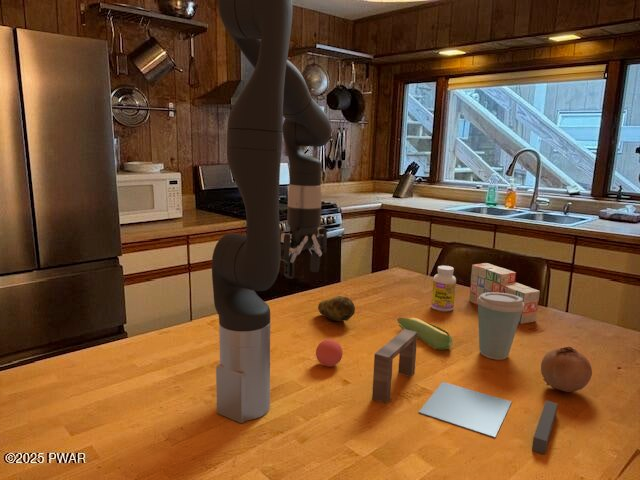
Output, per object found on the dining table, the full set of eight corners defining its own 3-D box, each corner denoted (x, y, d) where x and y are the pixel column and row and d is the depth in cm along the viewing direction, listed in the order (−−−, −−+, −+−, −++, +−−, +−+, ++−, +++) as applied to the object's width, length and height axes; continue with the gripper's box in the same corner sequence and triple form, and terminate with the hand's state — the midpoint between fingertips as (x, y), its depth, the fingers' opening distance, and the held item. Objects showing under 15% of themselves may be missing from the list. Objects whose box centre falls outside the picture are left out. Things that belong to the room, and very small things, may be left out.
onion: (560, 405, 97) (566, 358, 95) (528, 382, 106) (533, 339, 104) (599, 400, 100) (606, 354, 97) (565, 377, 108) (571, 335, 106)
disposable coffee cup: (462, 348, 122) (468, 290, 119) (497, 342, 126) (504, 286, 123) (491, 367, 112) (498, 304, 109) (528, 360, 116) (536, 300, 113)
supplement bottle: (430, 310, 148) (433, 269, 145) (431, 303, 154) (434, 263, 151) (453, 313, 146) (456, 271, 143) (453, 306, 152) (457, 265, 149)
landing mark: (495, 438, 86) (495, 437, 86) (418, 412, 93) (418, 411, 93) (511, 402, 98) (511, 401, 98) (442, 382, 105) (442, 381, 105)
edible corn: (441, 356, 118) (443, 338, 117) (392, 326, 135) (392, 310, 134) (457, 352, 120) (459, 334, 120) (407, 323, 138) (408, 308, 137)
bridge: (386, 403, 96) (388, 357, 94) (372, 398, 98) (374, 353, 96) (414, 373, 109) (417, 332, 106) (401, 369, 110) (404, 328, 108)
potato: (343, 312, 145) (344, 286, 143) (357, 329, 132) (359, 300, 131) (315, 314, 142) (316, 287, 141) (328, 331, 130) (328, 302, 129)
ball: (333, 374, 107) (334, 348, 106) (310, 366, 110) (311, 341, 109) (346, 363, 112) (347, 339, 111) (324, 356, 115) (325, 332, 114)
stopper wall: (544, 454, 82) (546, 441, 81) (531, 450, 83) (533, 437, 82) (555, 415, 94) (557, 403, 93) (544, 412, 95) (546, 400, 94)
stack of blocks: (536, 321, 141) (541, 280, 139) (520, 324, 139) (525, 282, 136) (483, 298, 160) (487, 262, 158) (468, 301, 158) (471, 263, 155)
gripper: (295, 209, 103) (293, 284, 106) (337, 204, 114) (334, 272, 117) (269, 205, 108) (268, 277, 111) (312, 201, 118) (310, 266, 122)
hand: (302, 274), depth 114 cm, fingers open, 8 cm apart
